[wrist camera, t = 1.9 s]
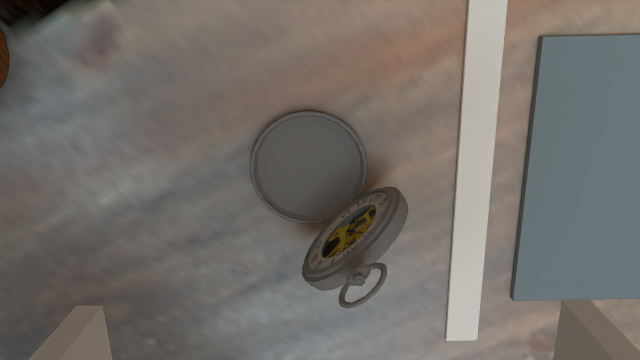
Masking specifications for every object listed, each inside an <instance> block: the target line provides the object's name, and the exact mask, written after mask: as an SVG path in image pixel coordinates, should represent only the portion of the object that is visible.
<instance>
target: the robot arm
mask: <svg viewBox="0 0 640 360" xmlns="http://www.w3.org/2000/svg"><path fill="white" fill-rule="evenodd" d="M29 360H112V355H111V350H110V344H109V338H108V333H107V327H106V321H105V316H104V310H103V306H76V307H75V308H74V309H73V310H72V311H71V312H70V314H69V315H68V316H67V317H66V318H65V319H64V320H63V321H62V323H61V324H60V325H59V326H58V327H57V328H56V329H55V331H54V332H53V333H52V334H51V335H50V336H49V337H48V338H47V340H46V341H45V342H44V343H43V344H42V345H41V346H40V347H39V349H38V350H37V351H36V352H35V353H34V354H33V355H32V357H31V358H30V359H29ZM553 360H640V351H639V350H638V349H637V348H636V347H635V346H634V345H633V344H632V343H631V342H630V341H629V340H628V339H627V338H626V337H625V336H624V335H623V334H622V333H621V332H620V331H619V330H618V328H617V327H616V326H615V325H614V324H613V323H612V322H611V321H610V320H609V319H608V318H607V317H606V316H605V315H604V314H603V313H602V312H601V311H600V310H599V309H598V308H597V307H596V306H595V305H594V304H593V303H592V302H591V301H590V300H589V299H570V300H562V303H561V310H560V317H559V324H558V330H557V337H556V344H555V351H554V357H553Z"/></svg>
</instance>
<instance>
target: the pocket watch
mask: <svg viewBox="0 0 640 360" xmlns="http://www.w3.org/2000/svg"><path fill="white" fill-rule="evenodd" d="M366 174H367V160H366V156H365V153H364V149H363V145H362V143H361V142H360V140H359V139H358V137H357V136H356V134H355V133H354V131H353V130H352V129H351V128H350V127H349V126H348V125H346V124H345V123H344V122H342V121H341V120H339V119H337V118H336V117H334V116H332V115H330V114H325V113H320V112H315V111H309V110H308V111H302V112H295V113H292V114H287V115H285V116H283V117H282V118H280V119H278V120H276V121H275V122H274V123H272V124H271V125H269V126H268V127H267V129H266V130H265V131H264V132H263V134H262V135H261V136H260V138H259V139H258V140H257V142H256V144H255V147H254V150H253V154H252V157H251V177H252V182H253V185H254V188H255V190H256V192H257V194H258V196H259V197H260V199H261V200H262V201H263V202H264V204H265V205H266V206H267V207H268V208H269V209H270V210H272V211H273V212H274V213H276V214H277V215H279V216H280V217H282V218H284V219H286V220H290V221H294V222H297V223H310V224H315V223H320V222H325V221H328V220H331V219H332V220H331V221H330V222H329V223H328V224H327V225H326V226H325V227H324V228H323V230H322V231H321V232H320V233H319V235H318V236H317V237H316V239H315V240H314V242H313V243H312V245H311V246H310V248H309V250H308V252H307V254H306V257H305V260H304V264H303V266H302V276H303V277H304V279H305V281H306V282H307V283H309V284H310V285H311V286H314V287H316V288H317V289H319V290H323V291H324V290H331V289H335V288H337V287H340V286H342V285H344V286H343V288H342V289H341V292H340V295H339V304H340V305H341V307H344V308H352V307H356V306H359V305H361V304H362V303H364V302H366V301H367V300H368V299H370V298H371V297H372V296H373V295H374V294H375V293H376V292H377V291H378V290H379V289H380V288H381V286H382V285H383V283H384V281H385V278H386V276H387V267H386V265H384V264H383V263H375V262H376V261H377V260H378V259H379V258H380V257H381V256H382V255H383V254H384V253H385V252H386V251H387V249H388V248H389V247H390V246H391V244H392V243H393V242H394V241H395V239H396V238H397V236H398V235H399V233H400V231H401V230H402V228H403V226H404V223H405V221H406V219H407V214H408V204H407V203H406V200H405V198H404V197H403V195H402V194H401V192H400V191H399V190H398V189H397V188H395V187H384V188H379V189H375V190H373V191H370V192H368V193H366V194H364V195H362V196H361V197H359V195H360V194H361V192H362V189H363V186H364V183H365V180H366ZM359 228H360V229H359ZM348 243H349V244H348ZM347 244H348V246H346V245H347ZM342 248H343V249H342ZM341 249H342V250H341ZM340 250H341V251H340ZM338 252H340V253H338ZM337 253H338V254H337ZM374 268H377V269H380V270H381V276H380V279H379V281H378V282H377V284H376V286H375V287H374V288H373V289H372V290H371V291H370V292H369V293H368V294H367V295H366V296H365V297H363V298H361V299H359V300H357V301H355V302H352V303H350V302H346V301H345V300H344V298H345V294H346V292H347V290H348V287H349V286H350V285H351V286H352V285H356V286H362V285H363V284H364V283H365V280H366V278H367V277H368V276H369V274H370V270H371V269H374Z"/></svg>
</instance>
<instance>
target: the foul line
mask: <svg viewBox="0 0 640 360" xmlns="http://www.w3.org/2000/svg"><path fill="white" fill-rule="evenodd" d="M507 1H508V0H468V4H467V19H466V34H465V49H464V64H463V79H462V94H461V109H460V124H459V138H458V153H457V168H456V183H455V198H454V213H453V228H452V243H451V258H450V272H449V287H448V302H447V317H446V332H445V339H446V341H463V340H477V333H478V322H479V311H480V300H481V289H482V278H483V267H484V256H485V244H486V233H487V222H488V211H489V200H490V189H491V178H492V167H493V156H494V145H495V134H496V123H497V112H498V100H499V89H500V78H501V67H502V56H503V45H504V34H505V23H506V12H507Z"/></svg>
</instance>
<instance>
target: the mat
mask: <svg viewBox="0 0 640 360" xmlns="http://www.w3.org/2000/svg"><path fill="white" fill-rule="evenodd" d="M510 297H511V299H512V300H513V301H540V300H570V299H589V300H594V299H640V35H592V36H544V37H539V42H538V51H537V60H536V69H535V78H534V87H533V96H532V105H531V114H530V123H529V132H528V141H527V150H526V159H525V168H524V177H523V186H522V196H521V205H520V214H519V223H518V232H517V241H516V250H515V259H514V268H513V277H512V286H511V295H510Z"/></svg>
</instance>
